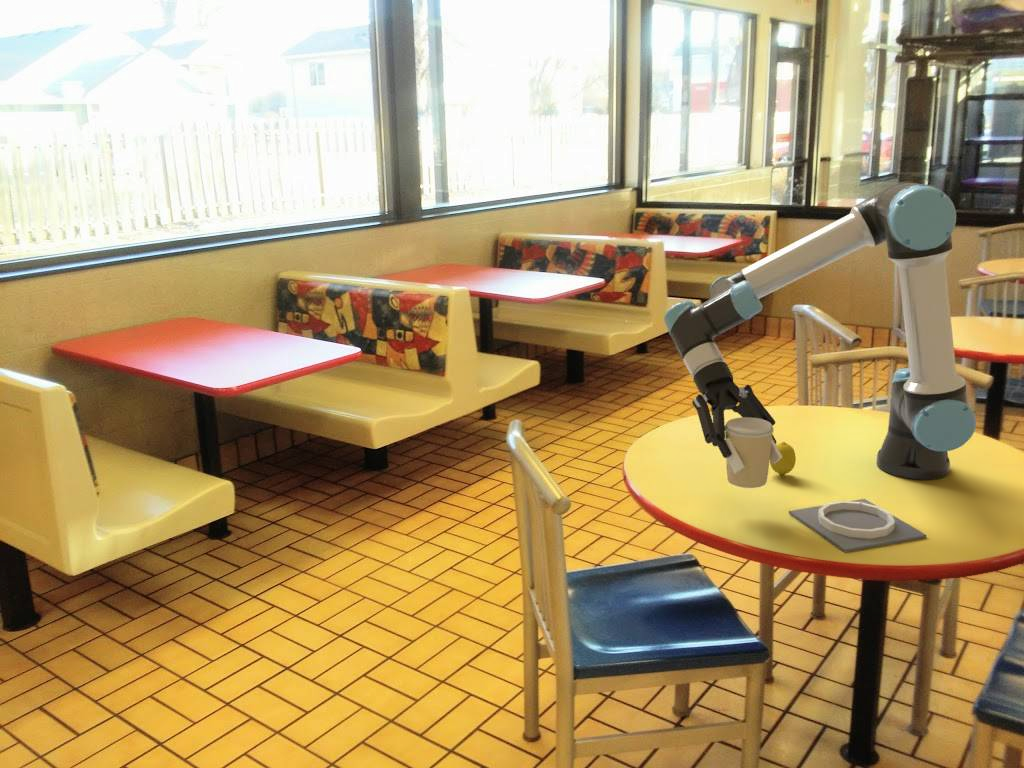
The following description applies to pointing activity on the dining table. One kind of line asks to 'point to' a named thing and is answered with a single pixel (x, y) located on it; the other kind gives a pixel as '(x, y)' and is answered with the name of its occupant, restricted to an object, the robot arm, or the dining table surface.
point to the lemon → (784, 459)
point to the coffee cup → (750, 450)
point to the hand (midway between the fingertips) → (758, 465)
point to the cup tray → (856, 525)
